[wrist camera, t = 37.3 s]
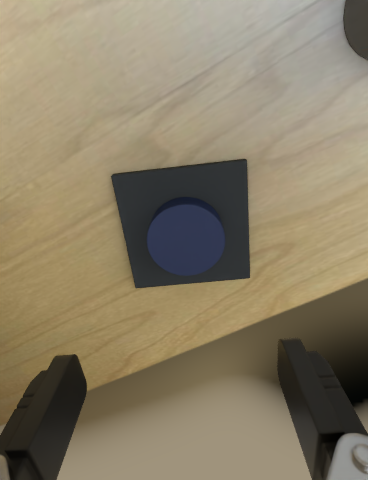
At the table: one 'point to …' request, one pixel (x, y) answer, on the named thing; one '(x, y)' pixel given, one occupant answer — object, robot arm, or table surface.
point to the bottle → (357, 25)
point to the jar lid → (186, 236)
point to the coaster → (185, 185)
